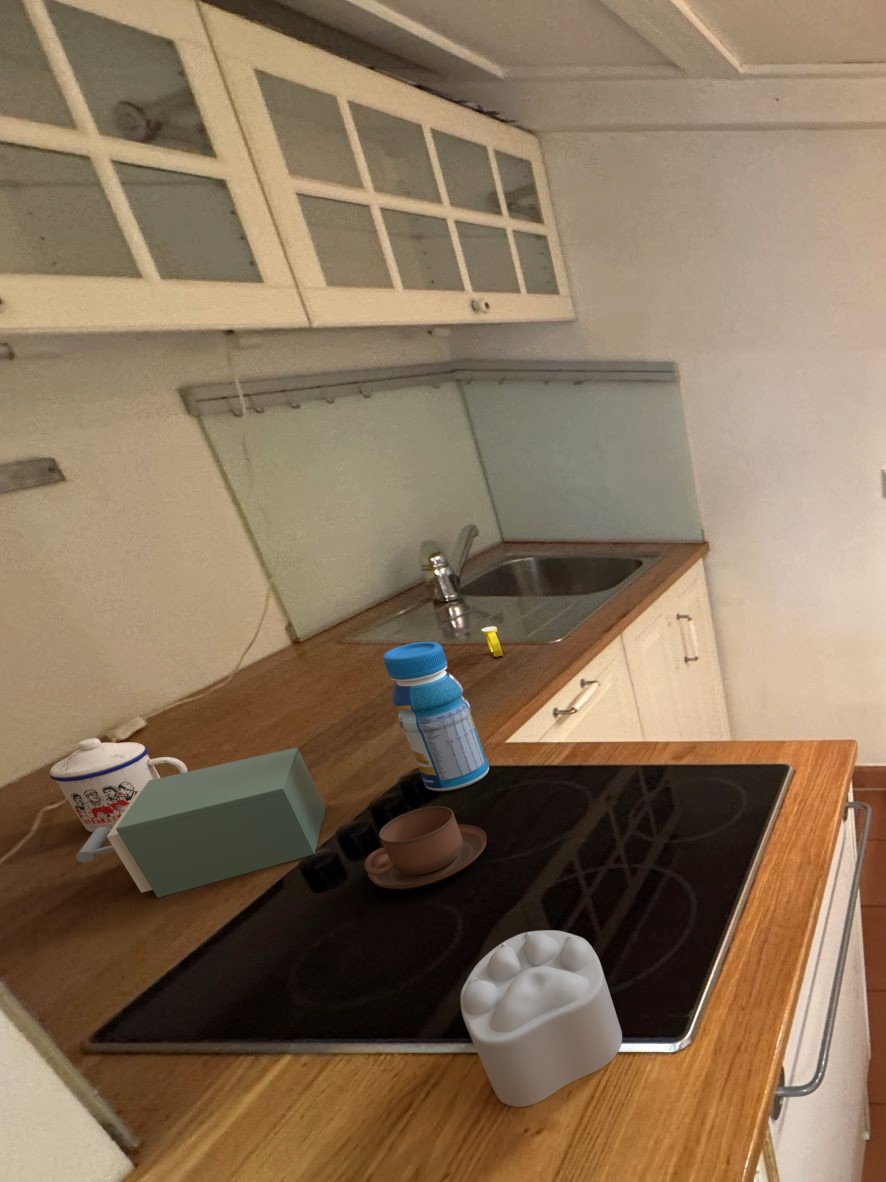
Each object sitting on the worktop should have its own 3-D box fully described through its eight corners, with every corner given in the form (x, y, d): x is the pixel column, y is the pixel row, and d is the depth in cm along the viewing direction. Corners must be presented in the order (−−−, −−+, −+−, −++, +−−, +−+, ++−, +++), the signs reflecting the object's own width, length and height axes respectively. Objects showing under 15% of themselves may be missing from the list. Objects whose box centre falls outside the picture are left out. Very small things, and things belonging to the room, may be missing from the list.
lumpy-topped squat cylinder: (501, 1122, 61) (467, 1044, 57) (472, 1022, 70) (442, 949, 66) (634, 1050, 66) (611, 975, 63) (591, 967, 76) (569, 897, 72)
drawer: (90, 906, 86) (52, 849, 82) (122, 856, 94) (89, 802, 91) (289, 852, 94) (262, 798, 91) (301, 810, 103) (277, 759, 99)
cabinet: (157, 898, 88) (115, 828, 84) (185, 844, 98) (148, 780, 94) (314, 854, 95) (282, 788, 91) (326, 808, 105) (297, 747, 101)
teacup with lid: (72, 843, 99) (22, 765, 94) (98, 810, 106) (53, 736, 101) (194, 814, 104) (152, 739, 99) (211, 785, 112) (173, 714, 107)
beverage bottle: (472, 792, 107) (425, 659, 99) (411, 795, 107) (358, 663, 99) (502, 762, 115) (460, 637, 106) (444, 765, 115) (398, 640, 106)
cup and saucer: (438, 903, 85) (420, 858, 83) (347, 894, 87) (326, 850, 85) (512, 840, 96) (498, 798, 93) (429, 834, 98) (413, 793, 96)
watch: (486, 653, 158) (478, 626, 155) (501, 650, 159) (493, 623, 157) (492, 661, 154) (483, 633, 151) (508, 658, 155) (499, 630, 153)
